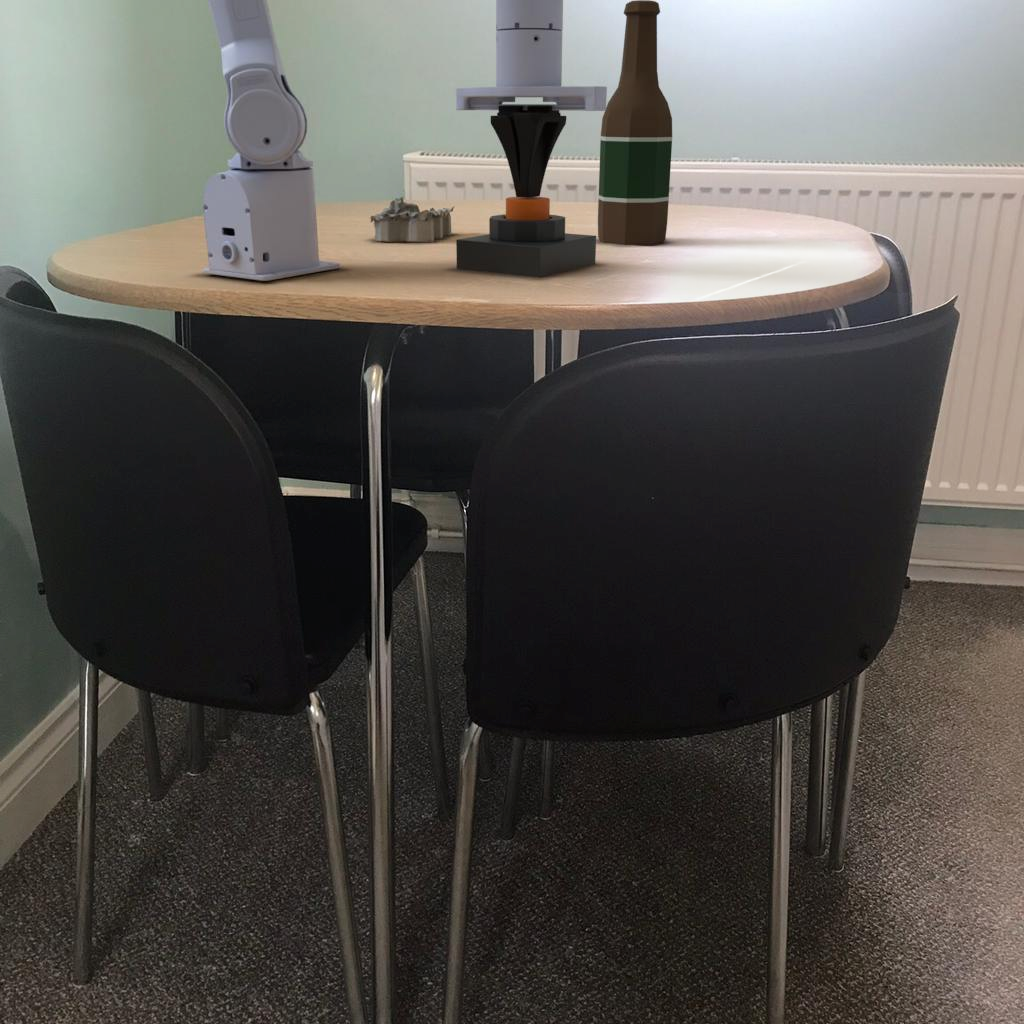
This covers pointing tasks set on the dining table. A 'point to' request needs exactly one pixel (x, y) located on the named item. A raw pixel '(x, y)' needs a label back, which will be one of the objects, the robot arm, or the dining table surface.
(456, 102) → the robot arm
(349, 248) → the dining table surface
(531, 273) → the button base
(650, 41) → the beer bottle
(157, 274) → the dining table surface
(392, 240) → the egg carton
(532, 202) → the switch
